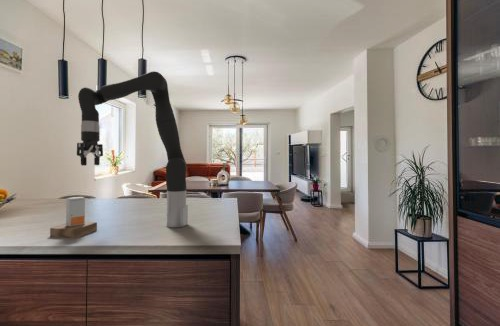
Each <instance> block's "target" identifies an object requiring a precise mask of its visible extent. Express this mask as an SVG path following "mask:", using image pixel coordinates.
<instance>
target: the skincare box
mask: <svg viewBox="0 0 500 326" xmlns="http://www.w3.org/2000/svg"><path fill="white" fill-rule="evenodd" d="M65 201H66V203H65V205H66V206H65V207H66V209H65V214H66V217H65V218H66V219H65V221H66V223H65V224H66V225H67V226H75V225H82V224H85V222H86V220H85V219H86V218H85V217H86V197H85V196H73V197H66V199H65Z"/></svg>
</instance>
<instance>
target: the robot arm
mask: <svg viewBox="0 0 500 326" xmlns="http://www.w3.org/2000/svg"><path fill="white" fill-rule="evenodd" d="M141 91H150V92H151V95H152V98H153V101H154V105H155V123H156V127H157V131H158V135H159V138H160V139H161V142H162V145H163V146H164V148H165V151H166V156H167V163H166V165H165V166H166V167H165V183H166V227H167V228H184V227H185V226H187V225H188V224H189V223H188V220H189V219H188V217H189V216H188V215H189V212H188V211H189V209H188V206H189V205H188V204H187V170H188V165H187V162H186V159H185V157H184V155H183V151H182V147H181V143H180V142H181V141H180V134H179V131H178V130H179V129H178V126H177V125H178V124H177V120H176V118H175V114H174V110H173V108H172V105H171V101H170V95H169V87H168V81H167V79H166V78H165V76H163V75H162V73H160V72H158V71H149V72H147V73H144V74H141V75H139V76H136V77H133V78H131V79H127V80H124V81H120V82H116V83H111V84H106V85H105V84H104V85H103V86H100V89H98V90H94V89H92V88H89V87H87V86H86V87H82V88H81V89H79V92H78V96H77V97H78V103H79V107H80V110H81V124H80V141H82V142H77V143H76V156H77V157H80V165H81V166H84V167H85V166H87V163H88V161H87V156H88V155H89V154H90V153H91V154H92V155H93V157H94V158H93V160H94V161H93V162H94V163H93V165H94V166H99V165H100V158H101V157H103V156H104V148H103V147H104V146H103V144H100V143H98V142H101V141H100V140H101V139H100V135H101V134H100V128H101V127H100V114H99V111H98V110H97V109H96V106H98V105H102V104H105V103H107V102H109V101H113V100H119V99H122V98H125V97H127V96H129V95H131V94H135V93H137V92H141Z"/></svg>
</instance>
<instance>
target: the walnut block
mask: <svg viewBox="0 0 500 326" xmlns="http://www.w3.org/2000/svg"><path fill="white" fill-rule="evenodd" d="M96 231H98V222H95V221H85V224H82V225H75V226H67V225H66V223H64V224H59V225H55V226H53V227H50V228H49V233H50V234H49V236H50V237H54V238H55V237H56V238H76V239H77V238H79V237H82V236H84V235H87V234H90V233H92V232H96Z"/></svg>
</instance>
